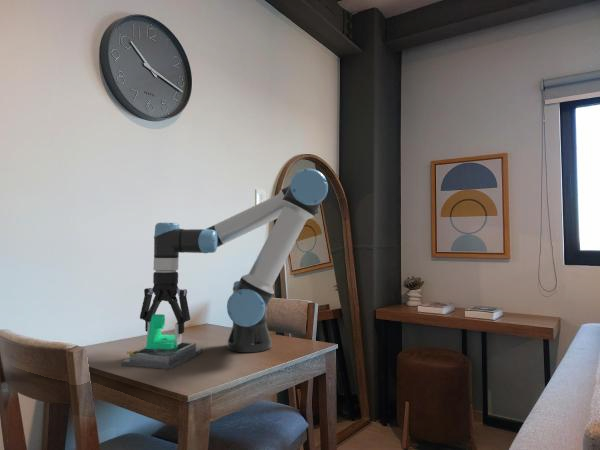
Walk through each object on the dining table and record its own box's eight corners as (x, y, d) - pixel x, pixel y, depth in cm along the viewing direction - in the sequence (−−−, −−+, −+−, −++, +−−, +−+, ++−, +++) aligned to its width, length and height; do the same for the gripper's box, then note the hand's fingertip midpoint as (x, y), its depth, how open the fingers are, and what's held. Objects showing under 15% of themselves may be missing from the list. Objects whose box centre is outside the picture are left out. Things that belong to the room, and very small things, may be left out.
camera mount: (171, 352, 129) (173, 318, 129) (145, 352, 128) (147, 317, 129) (180, 343, 141) (181, 311, 141) (156, 342, 140) (158, 311, 141)
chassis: (202, 352, 142) (202, 340, 142) (170, 369, 123) (170, 355, 123) (159, 348, 146) (159, 337, 146) (121, 365, 127) (122, 352, 127)
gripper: (202, 271, 137) (201, 342, 136) (142, 269, 142) (140, 338, 141) (191, 273, 129) (189, 348, 128) (128, 271, 134) (126, 343, 134)
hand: (164, 343), depth 135 cm, fingers closed on camera mount, 9 cm apart
